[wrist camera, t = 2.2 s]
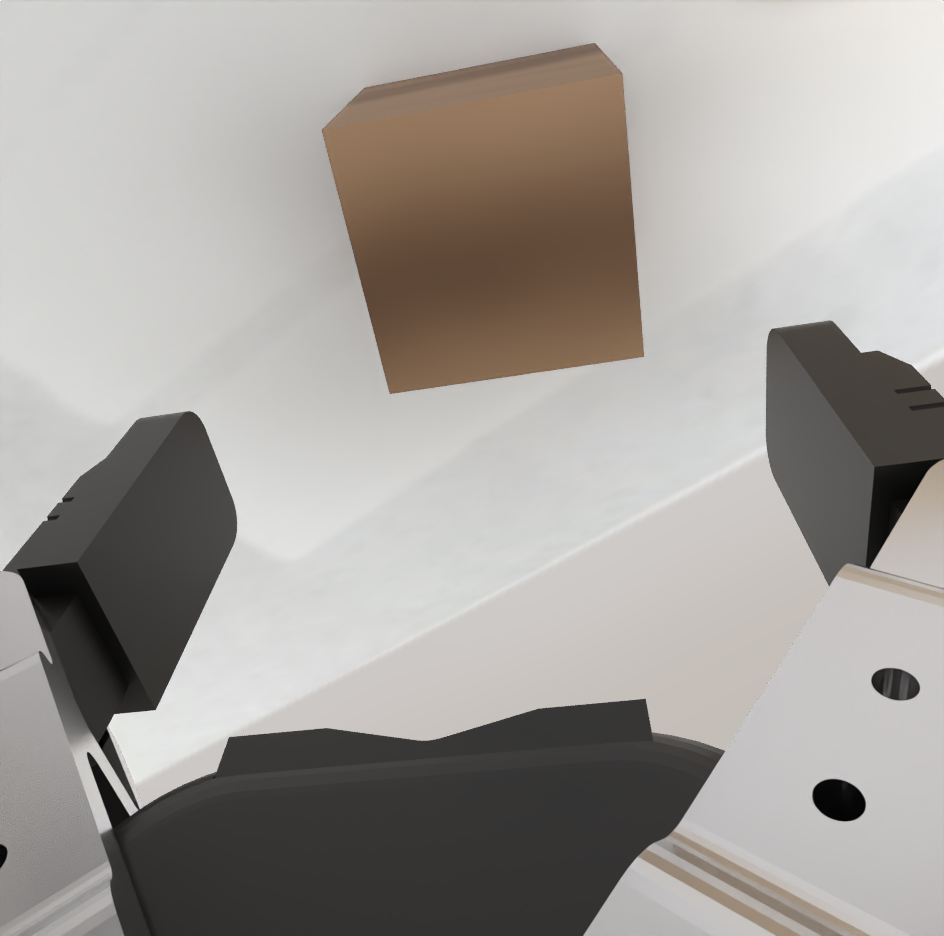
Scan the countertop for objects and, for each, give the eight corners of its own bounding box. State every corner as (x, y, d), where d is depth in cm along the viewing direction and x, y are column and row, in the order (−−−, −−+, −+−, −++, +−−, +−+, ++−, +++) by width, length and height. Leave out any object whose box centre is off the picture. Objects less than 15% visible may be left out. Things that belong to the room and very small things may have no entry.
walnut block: (365, 87, 22) (321, 130, 17) (594, 42, 21) (622, 73, 16) (413, 302, 25) (389, 393, 20) (615, 270, 24) (644, 356, 19)
